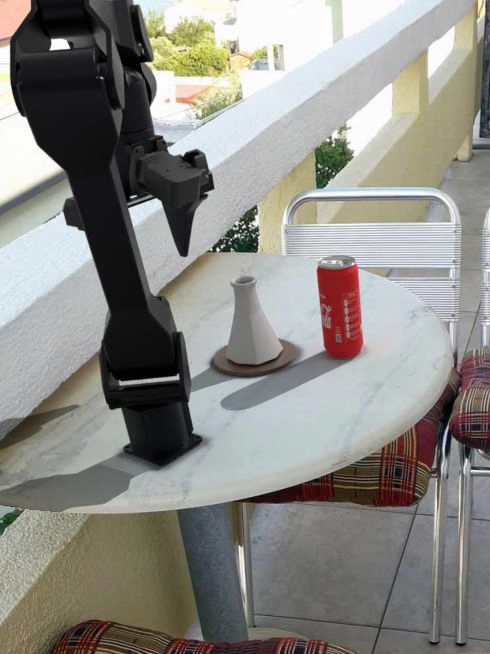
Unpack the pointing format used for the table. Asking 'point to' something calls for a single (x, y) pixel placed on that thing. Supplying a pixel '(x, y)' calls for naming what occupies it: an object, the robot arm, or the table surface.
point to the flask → (250, 327)
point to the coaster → (266, 367)
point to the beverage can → (340, 306)
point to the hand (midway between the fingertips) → (157, 268)
